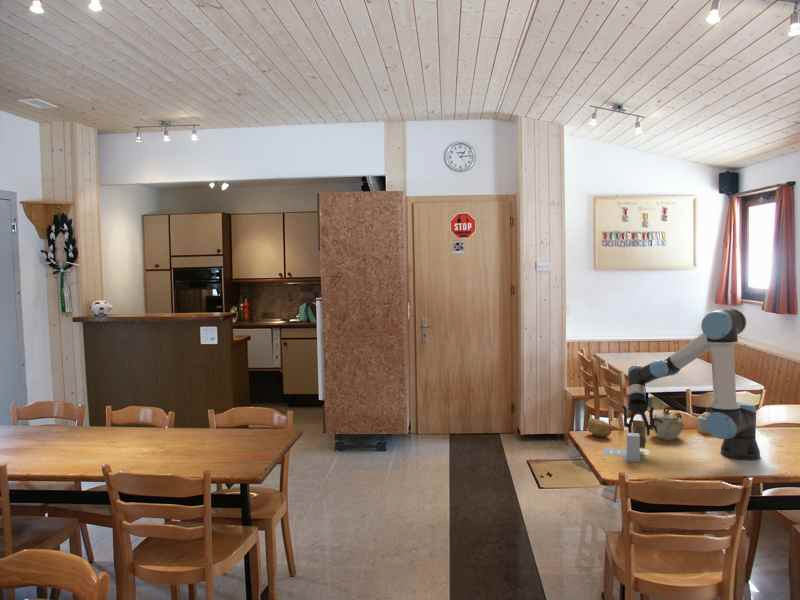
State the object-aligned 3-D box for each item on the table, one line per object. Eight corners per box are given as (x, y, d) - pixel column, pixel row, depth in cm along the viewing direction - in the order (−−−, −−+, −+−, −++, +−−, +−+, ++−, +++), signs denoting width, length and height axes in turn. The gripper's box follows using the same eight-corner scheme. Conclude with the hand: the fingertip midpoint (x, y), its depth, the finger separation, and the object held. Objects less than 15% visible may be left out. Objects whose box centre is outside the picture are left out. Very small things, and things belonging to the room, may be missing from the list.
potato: (601, 441, 294) (601, 425, 294) (582, 434, 307) (582, 418, 307) (617, 438, 298) (618, 422, 298) (598, 431, 311) (598, 415, 311)
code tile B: (642, 458, 269) (642, 457, 269) (643, 463, 262) (643, 463, 262) (622, 456, 272) (622, 455, 272) (623, 462, 264) (623, 461, 264)
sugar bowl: (664, 444, 288) (665, 412, 287) (639, 436, 302) (639, 406, 300) (694, 438, 297) (694, 407, 296) (668, 430, 310) (668, 401, 309)
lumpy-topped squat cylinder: (729, 433, 304) (729, 415, 304) (706, 435, 302) (706, 417, 301) (714, 427, 314) (715, 410, 314) (692, 429, 312) (692, 412, 311)
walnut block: (644, 444, 279) (644, 420, 278) (645, 448, 274) (645, 423, 274) (632, 443, 281) (632, 420, 280) (633, 447, 276) (633, 423, 275)
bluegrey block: (638, 458, 268) (638, 433, 268) (639, 461, 264) (639, 436, 263) (626, 457, 270) (626, 432, 269) (627, 460, 265) (627, 435, 264)
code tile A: (625, 449, 281) (625, 449, 281) (626, 456, 271) (626, 456, 271) (602, 448, 284) (602, 447, 284) (602, 455, 274) (602, 454, 274)
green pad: (648, 450, 280) (648, 449, 280) (649, 455, 272) (649, 455, 272) (629, 448, 282) (629, 448, 282) (630, 454, 275) (630, 453, 275)
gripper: (657, 401, 288) (660, 446, 274) (616, 399, 294) (617, 443, 279) (658, 392, 283) (662, 438, 268) (617, 390, 288) (618, 435, 274)
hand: (639, 440), depth 274 cm, fingers closed on walnut block, 5 cm apart
